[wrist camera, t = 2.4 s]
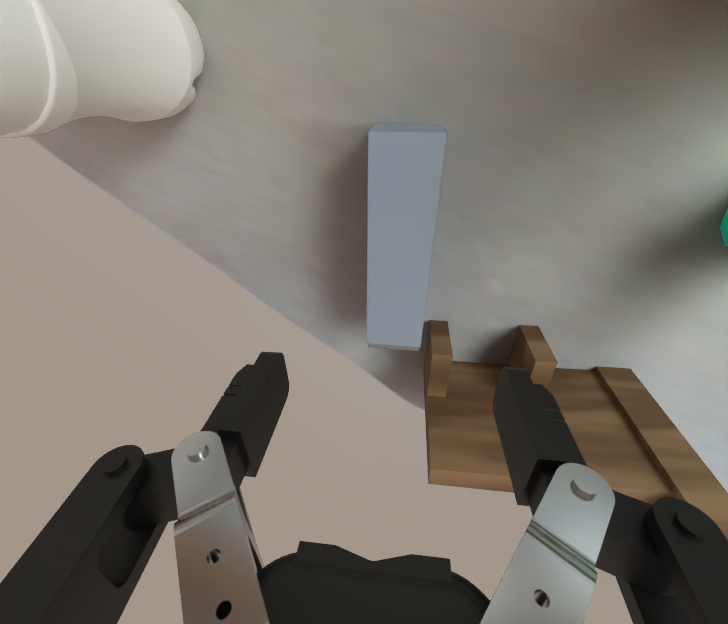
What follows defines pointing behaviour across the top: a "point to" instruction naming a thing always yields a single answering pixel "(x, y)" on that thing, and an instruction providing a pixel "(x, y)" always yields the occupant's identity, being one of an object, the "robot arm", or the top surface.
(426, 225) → the light blue rectangular bar
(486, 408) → the wooden holder stand
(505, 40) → the top surface
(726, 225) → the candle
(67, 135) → the top surface
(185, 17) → the water bottle
